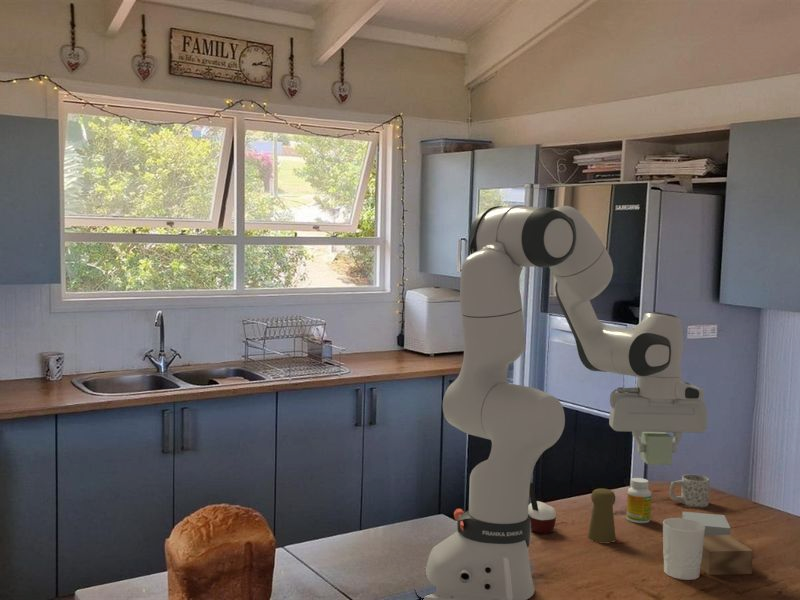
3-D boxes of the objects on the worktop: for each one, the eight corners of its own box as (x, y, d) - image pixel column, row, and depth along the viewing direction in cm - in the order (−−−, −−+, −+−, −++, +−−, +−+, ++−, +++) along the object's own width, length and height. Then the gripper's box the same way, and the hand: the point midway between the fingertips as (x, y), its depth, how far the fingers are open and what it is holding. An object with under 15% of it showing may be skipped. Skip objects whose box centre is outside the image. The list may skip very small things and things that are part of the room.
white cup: (662, 563, 167) (664, 515, 166) (703, 569, 164) (705, 521, 164) (659, 577, 160) (661, 527, 159) (702, 584, 157) (704, 533, 156)
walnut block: (708, 576, 162) (710, 551, 161) (687, 558, 171) (689, 535, 170) (751, 575, 163) (752, 550, 162) (728, 558, 172) (729, 534, 171)
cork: (616, 544, 177) (618, 494, 177) (588, 541, 179) (590, 492, 178) (614, 535, 183) (616, 487, 183) (587, 532, 184) (589, 484, 184)
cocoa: (549, 526, 189) (552, 475, 189) (564, 534, 183) (567, 481, 183) (514, 529, 186) (516, 476, 186) (528, 537, 180) (531, 483, 180)
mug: (701, 499, 212) (702, 474, 211) (713, 507, 205) (714, 481, 205) (664, 499, 211) (665, 474, 211) (674, 507, 204) (675, 481, 204)
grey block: (685, 546, 178) (686, 524, 177) (681, 532, 186) (682, 511, 186) (729, 551, 176) (730, 528, 175) (723, 536, 184) (724, 515, 184)
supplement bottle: (646, 525, 190) (648, 484, 190) (623, 520, 193) (625, 480, 192) (652, 519, 195) (654, 479, 194) (630, 514, 198) (631, 475, 197)
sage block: (647, 464, 172) (649, 436, 172) (640, 458, 177) (641, 431, 176) (671, 465, 172) (672, 437, 172) (663, 459, 177) (664, 431, 177)
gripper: (614, 389, 170) (611, 454, 171) (711, 391, 170) (708, 456, 171) (606, 384, 176) (604, 447, 177) (700, 386, 177) (697, 449, 177)
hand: (656, 452), depth 174 cm, fingers closed on sage block, 5 cm apart
